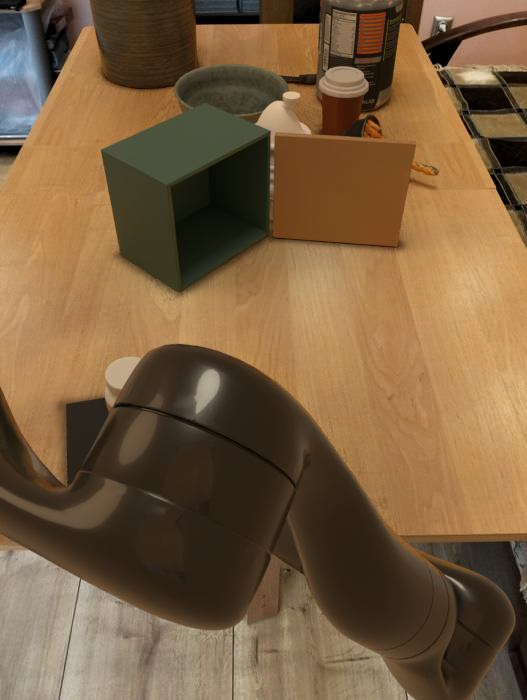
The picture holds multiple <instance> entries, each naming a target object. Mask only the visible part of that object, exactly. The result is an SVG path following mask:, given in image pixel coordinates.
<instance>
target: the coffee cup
mask: <svg viewBox="0 0 527 700" xmlns="http://www.w3.org/2000/svg"><path fill="white" fill-rule="evenodd" d="M368 88H369V83H368V82H367V81H366V79H365V78H364V74H363V72H362V71H361V70H359V69H356V68H353V67H345V66H340V67H334V68H331V69H329V70H328V71H326V73H325V76H324V77H323V78H321V79H320V81H319V89H320V90H321V91H322V101H321V116H322V117H321V118H322V119H321V120H322V122H321V123H322V129H321V130H322V131H321V133H322V134H321V135H331V136H342V135H343V133H344V132H345V131H347V130H348V129H349V128H350V126H351V125H353V124H354V123H355V122H356V121H358V120H360V117H361V112H362V111H361V107H362V102H363V97H364V94H365V93H366V92H367V91H368Z"/></svg>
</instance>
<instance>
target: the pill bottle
mask: <svg viewBox="0 0 527 700" xmlns="http://www.w3.org/2000/svg"><path fill="white" fill-rule="evenodd" d="M141 359H142V358H141V357H138V356H131V355H130V356H123V357H120V358H117V359H115V360H114V361H112V362H111V363H110V364H109V365H108V366H107V367H106V370H105V371H104V380H105V385H106V386H105V389H104V398H105V401H106V405H107V409H108V413H110V411H111V409H112V407H113V405H114V403H115V401H116V399H117V397H118V395H119V393H120V391H121V390H122V388H123V386H124V384H125V383H126V381H127V379H128V378H129V376H130V374H131V373H132V371H133V370H134V368H135V367H136V365H137V364H138V363H139V361H140V360H141Z"/></svg>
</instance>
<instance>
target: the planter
mask: <svg viewBox="0 0 527 700" xmlns="http://www.w3.org/2000/svg"><path fill="white" fill-rule="evenodd" d="M88 1H89V6H90V12H91V16H92V17H91V18H92V23H93V27H94V32H95V33H94V34H95V38H96V42H97V43H96V44H97V47H98V53H99V57H100V62H101V67H102V72H103V75H104V77H105V78H106V79H107V80H108V81H110V82H111V83H114V84H116V85H119V86H122V87H126V88H127V87H128V88H133V89H156V88H157V89H159V88H166V87H170V86H175V84H176V82H177V81H178V80H179V79H180V78H181V77H182V76H183V75H185V74H186V73H188V72H190V71H192V70H194V69H198V63H199V62H198V42H197V41H198V40H197V13H196V0H88Z"/></svg>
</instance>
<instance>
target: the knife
mask: <svg viewBox="0 0 527 700" xmlns="http://www.w3.org/2000/svg"><path fill="white" fill-rule="evenodd" d="M278 75H279V76H281V77H282V78H283V79H284V80H285V81H298V83H299V84H308V85H313V84H316V83H317V73H305V74H299V75H298V76H293V75H282V74H281V75H280V74H278Z"/></svg>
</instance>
